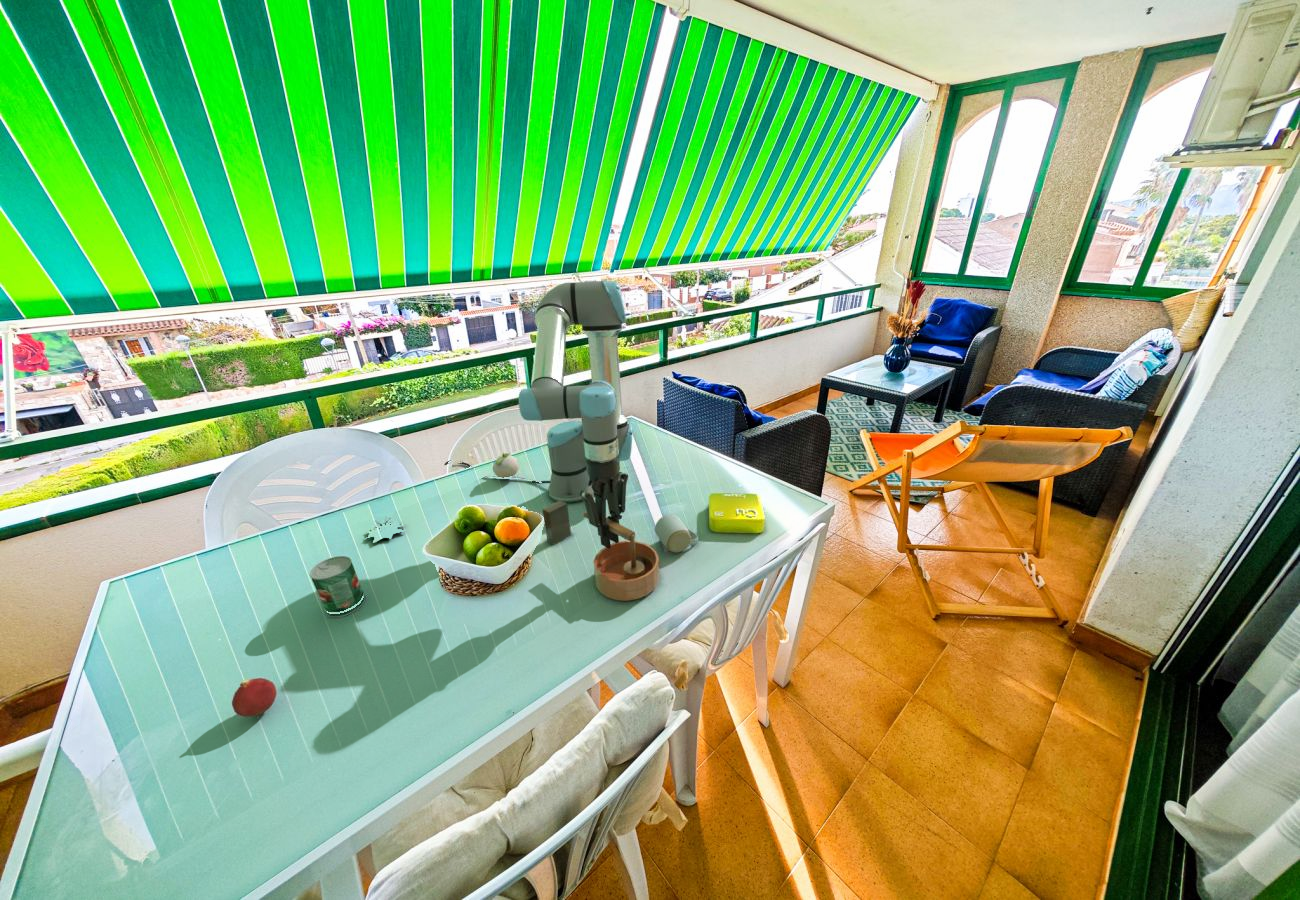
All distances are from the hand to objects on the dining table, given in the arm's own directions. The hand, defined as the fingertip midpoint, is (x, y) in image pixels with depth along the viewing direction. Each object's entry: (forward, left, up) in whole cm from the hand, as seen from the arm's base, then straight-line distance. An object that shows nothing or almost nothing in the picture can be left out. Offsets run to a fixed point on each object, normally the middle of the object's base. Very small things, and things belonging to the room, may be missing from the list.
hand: (610, 543), depth 112 cm
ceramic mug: (+6, +18, -7) cm, 21 cm away
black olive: (+6, +4, -5) cm, 9 cm away
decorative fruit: (-63, +9, -7) cm, 64 cm away
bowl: (+6, -1, -7) cm, 10 cm away
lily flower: (-61, -32, -7) cm, 70 cm away
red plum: (-19, -68, -7) cm, 71 cm away
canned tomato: (-37, -49, -7) cm, 62 cm away
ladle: (+1, 0, -5) cm, 6 cm away
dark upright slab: (-21, -1, -7) cm, 22 cm away
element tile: (+11, +38, -7) cm, 40 cm away
